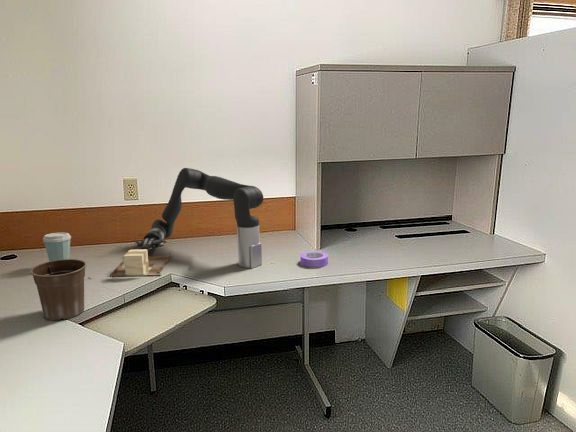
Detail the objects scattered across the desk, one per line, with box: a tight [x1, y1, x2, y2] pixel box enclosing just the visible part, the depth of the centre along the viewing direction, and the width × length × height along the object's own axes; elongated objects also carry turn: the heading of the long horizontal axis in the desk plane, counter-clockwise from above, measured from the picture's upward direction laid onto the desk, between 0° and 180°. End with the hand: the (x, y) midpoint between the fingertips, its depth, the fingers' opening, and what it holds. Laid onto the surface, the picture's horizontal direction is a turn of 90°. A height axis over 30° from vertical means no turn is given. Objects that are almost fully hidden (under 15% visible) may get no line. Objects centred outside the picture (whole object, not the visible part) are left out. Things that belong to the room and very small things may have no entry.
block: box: [123, 248, 149, 275], centre depth 186 cm, size 8×7×8 cm
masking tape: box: [300, 250, 329, 269], centre depth 197 cm, size 12×12×4 cm
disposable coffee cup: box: [42, 232, 72, 262], centre depth 195 cm, size 11×11×15 cm
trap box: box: [111, 253, 173, 278], centre depth 195 cm, size 23×19×2 cm
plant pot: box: [30, 258, 87, 321], centre depth 151 cm, size 16×16×16 cm
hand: (144, 249), depth 197 cm, fingers closed
